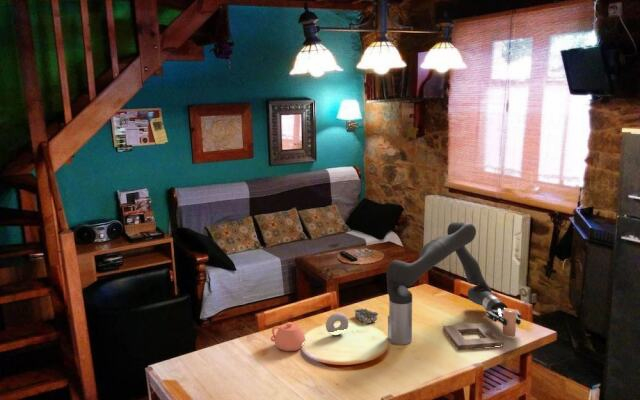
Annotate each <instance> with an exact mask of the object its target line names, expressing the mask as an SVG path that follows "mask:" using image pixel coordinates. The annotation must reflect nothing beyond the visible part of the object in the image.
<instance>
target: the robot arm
mask: <svg viewBox="0 0 640 400" xmlns="http://www.w3.org/2000/svg"><path fill="white" fill-rule="evenodd" d="M446 233H447V234H446V235H443V236H440V237H437V238H434V239H432V240H430V241H429V242H427V243H426V244H424V245H423V246H422V248H421V249H420V251H419V257H418V259H416V260H415V261H413V262H410V263H409V262H406V261H403V260H398V259H394V260H392V261H391V262H390V263H389V264H388V267H387V269H386V287H387V289H386V290H387V296H388V297H389V298H388V299H389V302H388V306H389V307H388V309H389V310H388V311H389V313H388V316H387V338H388V340H389V342H390V344H392V343H393V344H394V343H396V344H395V345H400V344H403V345H408V344H410V343H412V340H413V293H412V292H411V291H410V290H409V289H408V288H407V287H411V286H413V285H414V284H415V283H416V282H417V281H418V280H420V278H421V277H422V276H424V274H425V273H427V272H428V271H429V270H431V269H432V268H433V267H435V266H436V265H438V264H439V263H441V262H443V260H445V259H446V258H447V257H448V256H450V255H451V254H453V253H455V254H456V255H457V257H458V259H459V262H460V263H461V266H462V268H463V272H464V273H465V277H466V280H467V282H468V284H470V285H474V286H471V287H469V289H468V290H467V298H468V299H469V300H470V301H471V302H472V303H473V304H475V305H479V306H481V307H483V308H484V309H485V310H486V313H485V314H486V315H485V316H486V318H488V319H489V320H491V321H493V322H495V323H496V322H499V323H500V324H502V325H503V324H504V325H507V320H506V319H505V318H504V317H503V313H504V309H507V308H508V306H507V304H506V303H505V302H503V301H502V299H500V298H499V297H497V296H496V295H495V294H493V293H492V289H491V287H490V285H489V284H488V283H487V282H486V280H485V279H484V276H483V273H482V270H481V268H480V264H479V262H478V261H477V260H476V258H475V257H474V256H473V255H472V253H470V251H469V250H468V248H466V245H469V244H470V243H471V242H473V240H475V238H476V235H477V229H476V226H475V225H474V224H472V222H471V223H470V222H466V221H465V222H464V221H462V222H459V221H457V222H454V221H453V222H451V223H449V224H448V227H447V231H446ZM514 310H516V311H517V317H516V325H518V326H519V325H521V322H522V320H521V315H522V314H521V312H520V311H519V310H518V308H517V309H516V308H515V309H514Z"/></svg>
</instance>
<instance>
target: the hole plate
mask: <svg viewBox="0 0 640 400" xmlns="http://www.w3.org/2000/svg"><path fill="white" fill-rule="evenodd" d="M442 330H444V331H445V332H444V331H443V332H444V334H445V335H446V334H447V335H448V336H447V335H446V336H447V337H448V338H450V339H449V340H450V341H451V343H452V342H453V343H452V344H453V346H455V347H456V349H457V350H458V351H465V350H466V349H467V350H476V349H475V348H481V349H486V348H485V347H495V346H501V345H503V344H504V342H503V341H502V340H501V338H500V337H499V336H497V335H496V334H495V333H494V332H493V331H492V329H491V328H490V327H488V326H487V325H486V323H484V322H483V323H480V322H479V323H478V322H477V323H463V324H451V325H442ZM474 332H478V333H477V334H478V335H479V336H480V335H481V336H482V337H483V338H482V337H481V336H480V337H481V338H468V339H467V338H465V337H464V336H463V334H460V333H467V334H475V333H474ZM495 348H496V347H495ZM467 350H466V351H467Z"/></svg>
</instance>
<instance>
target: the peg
mask: <svg viewBox="0 0 640 400" xmlns="http://www.w3.org/2000/svg"><path fill="white" fill-rule="evenodd" d="M503 317H504V318H505V319H506V320H507V325H504V324H502V331H501V332H502V335H503V336H504V337H508V338H509V337H510V338H513V337H516V331H517V330H516V329H517V323H516V317H517V311H516V310H515V309H513V308H509V307H507V309H504V313H503Z"/></svg>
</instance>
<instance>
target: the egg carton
mask: <svg viewBox="0 0 640 400" xmlns="http://www.w3.org/2000/svg"><path fill="white" fill-rule="evenodd" d="M353 311H354V318H355V317H356V318H355V319H358V321H359V320H360V321H359V322H362V324H364V323H370V324H371V322H370V321H374V322H373V323H376V322H377V321H376V320H378V315H379V313H378V312H376V311H372V310H369V309H367V308H359V309H358V308H357V309H353ZM368 316H370V317H369V318H368ZM375 321H376V322H375Z"/></svg>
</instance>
